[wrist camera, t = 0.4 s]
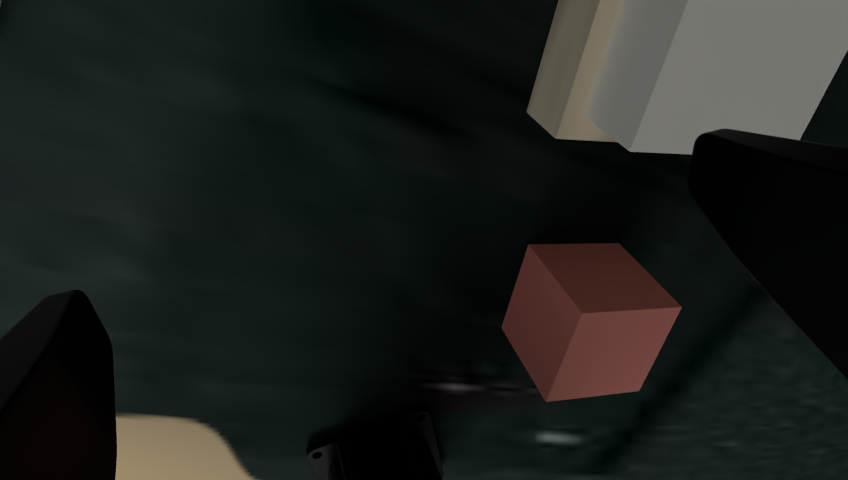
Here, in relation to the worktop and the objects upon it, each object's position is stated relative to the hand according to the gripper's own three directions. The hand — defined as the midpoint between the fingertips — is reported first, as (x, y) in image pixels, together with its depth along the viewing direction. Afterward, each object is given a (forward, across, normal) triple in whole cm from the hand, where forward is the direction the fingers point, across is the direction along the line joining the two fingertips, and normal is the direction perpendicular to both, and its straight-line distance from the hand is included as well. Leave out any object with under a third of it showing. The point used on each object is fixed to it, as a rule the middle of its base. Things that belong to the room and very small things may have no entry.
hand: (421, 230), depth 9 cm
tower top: (+11, -14, +2) cm, 18 cm away
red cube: (+14, -10, +15) cm, 23 cm away
